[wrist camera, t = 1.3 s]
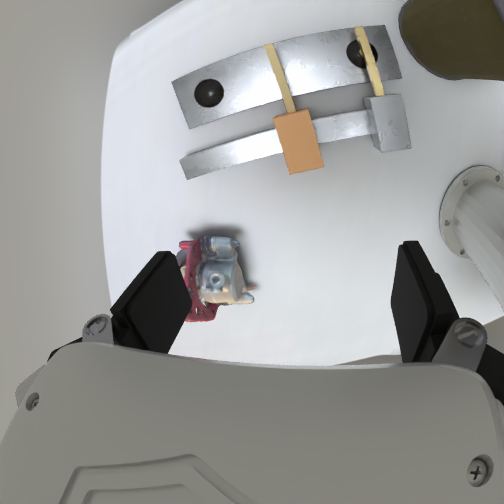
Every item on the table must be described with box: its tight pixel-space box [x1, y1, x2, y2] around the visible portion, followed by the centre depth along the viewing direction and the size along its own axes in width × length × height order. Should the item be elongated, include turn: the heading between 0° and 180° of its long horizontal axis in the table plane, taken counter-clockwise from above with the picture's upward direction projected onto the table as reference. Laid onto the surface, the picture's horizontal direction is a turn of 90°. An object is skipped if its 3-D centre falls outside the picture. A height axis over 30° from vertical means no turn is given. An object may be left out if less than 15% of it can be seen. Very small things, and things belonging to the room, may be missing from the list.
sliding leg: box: [264, 43, 324, 174], centre depth 21 cm, size 3×12×5 cm, turn 19°
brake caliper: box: [176, 236, 257, 322], centre depth 34 cm, size 11×11×12 cm
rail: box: [179, 109, 372, 180], centre depth 26 cm, size 24×2×2 cm, turn 108°
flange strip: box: [172, 25, 402, 130], centre depth 22 cm, size 23×6×1 cm, turn 108°
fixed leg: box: [353, 26, 411, 153], centre depth 19 cm, size 3×12×4 cm, turn 18°
